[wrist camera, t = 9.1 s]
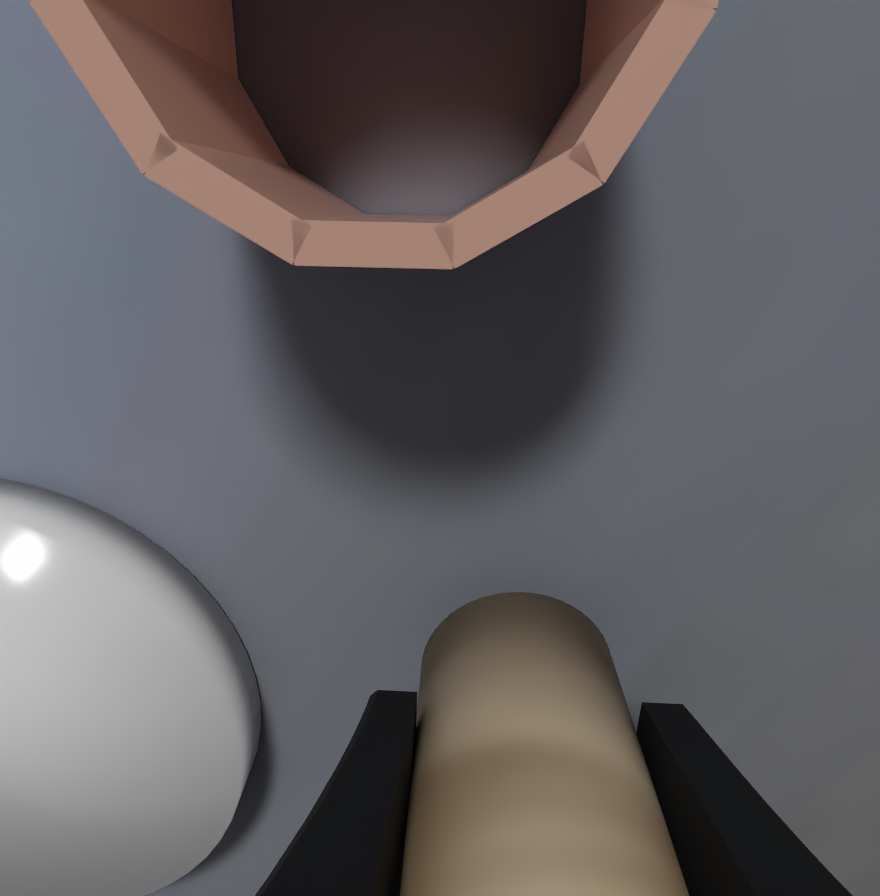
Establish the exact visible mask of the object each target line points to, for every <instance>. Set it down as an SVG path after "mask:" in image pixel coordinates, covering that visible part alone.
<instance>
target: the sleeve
mask: <svg viewBox="0 0 880 896" xmlns="http://www.w3.org/2000/svg"><path fill="white" fill-rule="evenodd" d="M29 3H30V4H31V6H32V7H33V9H34V10H35V12H36V13H37V15H38V16H39V18H40V19H41V21H42V22H43V24H44V25H45V27H46V28H47V30H48V32H49V33H50V35H51V36H52V38H53V39H54V41H55V42H56V44H57V45H58V47H59V48H60V50H61V51H62V53H63V54H64V56H65V57H66V59H67V60H68V62H69V63H70V65H71V66H72V68H73V69H74V71H75V73H76V74H77V76H78V77H79V79H80V80H81V82H82V83H83V85H84V86H85V88H86V89H87V91H88V92H89V94H90V95H91V97H92V98H93V100H94V101H95V103H96V104H97V106H98V107H99V109H100V111H101V112H102V114H103V115H104V117H105V118H106V120H107V121H108V123H109V124H110V126H111V127H112V129H113V130H114V132H115V133H116V135H117V136H118V138H119V139H120V141H121V142H122V144H123V145H124V147H125V148H126V150H127V152H128V153H129V155H130V156H131V158H132V159H133V161H134V162H135V164H136V165H137V167H138V168H139V170H140V171H141V173H142V174H145V175H144V176H145V177H147V178H149V179H150V180H152V181H154V182H155V183H157V184H159V185H160V186H162V187H164V188H165V189H167V190H169V191H170V192H172V193H173V194H175V195H177V196H178V197H180V198H182V199H183V200H185V201H187V202H188V203H190V204H192V205H193V206H195V207H197V208H198V209H200V210H202V211H203V212H205V213H207V214H208V215H210V216H212V217H213V218H215V219H217V220H218V221H220V222H222V223H223V224H225V225H227V226H228V227H230V228H232V229H233V230H235V231H237V232H238V233H240V234H242V235H243V236H245V237H246V238H248V239H250V240H251V241H253V242H255V243H256V244H258V245H260V246H261V247H263V248H265V249H266V250H268V251H270V252H271V253H273V254H275V255H276V256H278V257H280V258H281V259H283V260H285V261H286V262H288V263H290V264H291V265H294V266H332V267H376V268H419V269H453V266H454V268H457V267H459V266H461V265H462V264H464V263H466V262H468V261H469V260H471V259H473V258H475V257H477V256H478V255H480V254H482V253H484V252H485V251H487V250H489V249H491V248H492V247H494V246H496V245H498V244H500V243H501V242H503V241H505V240H507V239H508V238H510V237H512V236H514V235H515V234H517V233H519V232H521V231H522V230H524V229H526V228H528V227H530V226H531V225H533V224H535V223H537V222H538V221H540V220H542V219H544V218H545V217H547V216H549V215H551V214H553V213H554V212H556V211H558V210H560V209H561V208H563V207H565V206H567V205H568V204H570V203H572V202H574V201H575V200H577V199H579V198H581V197H583V196H584V195H586V194H588V193H590V192H591V191H593V190H595V189H597V188H598V187H600V186H602V185H603V183H605V182H606V180H607V179H608V177H609V176H610V174H611V173H612V171H613V170H614V168H615V167H616V165H617V164H618V162H619V160H620V159H621V157H622V156H623V154H624V153H625V151H626V150H627V148H628V147H629V145H630V143H631V142H632V140H633V139H634V137H635V136H636V134H637V133H638V131H639V130H640V128H641V126H642V125H643V123H644V122H645V120H646V119H647V117H648V116H649V114H650V113H651V111H652V110H653V108H654V106H655V105H656V103H657V102H658V100H659V99H660V97H661V96H662V94H663V93H664V91H665V89H666V88H667V86H668V85H669V83H670V82H671V80H672V79H673V77H674V76H675V74H676V72H677V71H678V69H679V68H680V66H681V65H682V63H683V62H684V60H685V59H686V57H687V56H688V54H689V52H690V51H691V49H692V48H693V46H694V45H695V43H696V42H697V40H698V39H699V37H700V35H701V34H702V32H703V31H704V29H705V28H706V26H707V25H708V23H709V22H710V20H711V18H712V17H713V15H714V14H715V12H716V11H715V10H716V9H717V7H718V0H587V6H586V17H585V29H584V40H583V51H582V63H581V74H580V84H579V86H578V88H577V89H576V91H575V93H574V94H573V96H572V98H571V99H570V101H569V103H568V104H567V106H566V108H565V109H564V111H563V113H562V114H561V116H560V118H559V119H558V121H557V123H556V124H555V126H554V128H553V129H552V131H551V133H550V134H549V136H548V138H547V139H546V141H545V143H544V144H543V146H542V148H541V149H540V151H539V153H538V154H537V156H536V158H535V159H534V161H533V163H532V164H531V166H530V168H529V169H528V171H526V172H525V173H523V174H521V175H519V176H518V177H516V178H514V179H513V180H511V181H509V182H508V183H506V184H504V185H502V186H501V187H499V188H497V189H496V190H494V191H492V192H490V193H489V194H487V195H485V196H484V197H482V198H480V199H479V200H477V201H475V202H473V203H472V204H470V205H468V206H467V207H465V208H463V209H461V210H460V211H458V212H456V213H455V214H453V215H451V216H430V215H382V214H364V213H363V212H361V211H359V210H358V209H356V208H355V207H353V206H352V205H350V204H348V203H347V202H345V201H344V200H342V199H340V198H339V197H337V196H336V195H334V194H333V193H331V192H329V191H328V190H326V189H325V188H323V187H321V186H320V185H318V184H317V183H315V182H314V181H312V180H310V179H309V178H307V177H306V176H304V175H302V174H301V173H299V172H298V171H296V170H295V169H293V168H291V167H290V166H289V165H288V163H287V162H286V160H285V158H284V157H283V155H282V153H281V151H280V150H279V148H278V146H277V144H276V143H275V141H274V139H273V138H272V136H271V134H270V132H269V131H268V129H267V127H266V126H265V124H264V122H263V120H262V119H261V117H260V115H259V113H258V112H257V110H256V108H255V107H254V105H253V103H252V101H251V100H250V98H249V96H248V95H247V93H246V91H245V89H244V88H243V86H242V84H241V82H240V81H239V79H238V70H237V58H236V47H235V35H234V23H233V12H232V0H31V1H29Z"/></svg>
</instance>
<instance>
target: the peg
mask: <svg viewBox="0 0 880 896" xmlns="http://www.w3.org/2000/svg"><path fill="white" fill-rule="evenodd" d="M400 896H689V893H688V890H687V887H686V884H685V881H684V878H683V875H682V872H681V869H680V866H679V862H678V859H677V856H676V853H675V850H674V847H673V844H672V841H671V838H670V835H669V832H668V829H667V826H666V823H665V820H664V816H663V813H662V810H661V807H660V804H659V801H658V798H657V795H656V792H655V789H654V786H653V783H652V780H651V777H650V774H649V771H648V767H647V764H646V761H645V758H644V755H643V752H642V749H641V746H640V743H639V740H638V737H637V734H636V731H635V728H634V725H633V722H632V718H631V715H630V712H629V709H628V706H627V703H626V700H625V697H624V694H623V691H622V688H621V685H620V682H619V679H618V676H617V672H616V669H615V666H614V663H613V660H612V657H611V654H610V651H609V648H608V645H607V643H606V641H605V639H604V637H603V635H602V634H601V632H600V631H599V629H598V628H597V627H596V625H595V624H594V623H593V622H592V621H591V620H590V619H589V618H588V617H587V616H585V615H584V614H583V613H582V612H580V611H579V610H577V609H576V608H574V607H573V606H571V605H569V604H567V603H565V602H563V601H561V600H558V599H555V598H552V597H549V596H544V595H540V594H534V593H524V592H513V593H502V594H495V595H491V596H487V597H483V598H480V599H478V600H475V601H472V602H470V603H468V604H466V605H464V606H462V607H460V608H459V609H457V610H456V611H454V612H453V613H451V614H450V615H449V616H448V617H447V618H446V619H444V620H443V621H442V622H441V623H440V625H439V626H438V627H437V628H436V629H435V631H434V632H433V634H432V635H431V637H430V638H429V640H428V643H427V645H426V647H425V650H424V654H423V658H422V666H421V677H420V688H419V698H418V709H417V719H416V737H415V748H414V759H413V770H412V780H411V789H410V796H409V805H408V815H407V826H406V836H405V847H404V858H403V868H402V879H401V890H400Z"/></svg>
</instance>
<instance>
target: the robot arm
mask: <svg viewBox="0 0 880 896" xmlns="http://www.w3.org/2000/svg"><path fill="white" fill-rule="evenodd" d="M416 718H417V692H406V691H385V690H377V691H376V692H375V693H373V694H372V695H371V696H370V698H369V701H368V703H367V706H366V708H365V711H364V713H363V715H362V718H361V720H360V722H359V724H358V726H357V729H356V731H355V733H354V735H353V737H352V739H351V741H350V743H349V745H348V747H347V748H346V750H345V752H344V754H343V756H342V758H341V760H340V762H339V764H338V765H337V767H336V769H335V771H334V772H333V774H332V776H331V778H330V779H329V781H328V783H327V785H326V786H325V788H324V790H323V791H322V793H321V795H320V797H319V798H318V800H317V802H316V804H315V805H314V807H313V809H312V810H311V812H310V814H309V815H308V817H307V818H306V820H305V822H304V823H303V825H302V826H301V828H300V829H299V831H298V832H297V834H296V836H295V837H294V839H293V840H292V842H291V843H290V845H289V846H288V848H287V849H286V851H285V852H284V854H283V855H282V857H281V858H280V860H279V861H278V863H277V865H276V866H275V868H274V869H273V871H272V872H271V874H270V875H269V877H268V878H267V879H266V881H265V882H264V884H263V885H262V887H261V888H260V889H259V891H258V892H257V894H256V895H255V896H400V890H401V879H402V868H403V858H404V847H405V836H406V826H407V815H408V805H409V796H410V789H411V780H412V770H413V759H414V748H415V737H416ZM636 734H637V737H638V740H639V743H640V746H641V749H642V752H643V755H644V758H645V761H646V764H647V767H648V771H649V774H650V777H651V780H652V783H653V786H654V789H655V792H656V795H657V798H658V801H659V804H660V807H661V810H662V813H663V816H664V820H665V823H666V826H667V829H668V832H669V835H670V838H671V841H672V844H673V847H674V850H675V853H676V856H677V859H678V862H679V866H680V869H681V872H682V875H683V878H684V881H685V884H686V887H687V890H688V893H689V896H852V895H851V894H850V893H849V892H848V891H847V890H846V889H845V888H844V886H843V885H842V884H841V883H840V882H839V881H838V880H837V879H836V878H835V877H834V876H833V875H832V874H831V873H830V872H829V871H828V870H827V869H826V868H825V867H824V866H823V864H822V863H821V862H820V861H819V860H818V859H817V858H816V857H815V856H814V855H813V854H812V853H811V852H810V851H809V849H808V848H807V847H806V846H805V845H804V844H803V843H802V842H801V841H800V839H799V838H798V837H797V836H796V835H795V834H794V833H793V832H792V831H791V829H790V828H789V827H788V826H787V825H786V824H785V823H784V822H783V821H782V819H781V818H780V817H779V816H778V815H777V814H776V813H775V812H774V811H773V810H772V808H771V807H770V806H769V805H768V804H767V803H766V802H765V800H764V799H763V798H762V797H761V796H760V795H759V794H758V792H757V791H756V790H755V789H754V788H753V787H752V786H751V784H750V783H749V782H748V781H747V780H746V778H745V777H744V776H743V775H742V774H741V773H740V771H739V770H738V769H737V768H736V767H735V766H734V764H733V763H732V762H731V761H730V760H729V759H728V757H727V756H726V755H725V754H724V753H723V751H722V750H721V749H720V748H719V747H718V745H717V744H716V743H715V742H714V741H713V739H712V738H711V737H710V736H709V735H708V733H707V732H706V731H705V730H704V729H703V728H702V726H701V725H700V724H699V723H698V722H697V720H696V719H695V718H694V717H693V716H692V715H691V713H690V712H689V711H688V710H687V709H686V708H685V707H684V705H683V704H665V703H644V702H642V705H641V711H640V716H639V722H638V727H637V733H636Z"/></svg>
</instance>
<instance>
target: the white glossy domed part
mask: <svg viewBox="0 0 880 896" xmlns="http://www.w3.org/2000/svg"><path fill="white" fill-rule="evenodd" d="M260 731H261V702H260V697H259V692H258V686H257V681H256V677H255V674H254V671H253V668H252V665H251V663H250V660H249V657H248V654H247V651H246V650H245V648H244V646H243V644H242V642H241V640H240V638H239V636H238V634H237V632H236V630H235V628H234V626H233V625H232V623H231V622H230V621H229V619H228V618H227V616H226V615H225V613H224V612H223V610H222V609H221V608H220V606H219V605H218V603H217V602H216V600H215V599H214V598H213V597H212V596H211V595H210V594H209V593H208V591H207V590H206V589H205V588H204V587H203V586H202V585H201V584H200V582H199V581H198V580H197V579H196V578H195V577H194V576H193V575H192V574H191V573H190V572H189V571H188V570H187V569H185V568H184V567H183V566H182V565H181V564H180V563H179V562H178V561H176V560H175V559H174V558H173V557H172V556H171V555H170V554H169V553H168V552H166V551H165V550H163V549H162V548H161V547H159V546H158V545H156V544H155V543H154V542H152V541H151V540H150V539H148V538H147V537H145V536H144V535H143V534H141V533H140V532H138V531H137V530H135V529H133V528H131V527H130V526H128V525H126V524H124V523H123V522H121V521H119V520H117V519H116V518H114V517H112V516H110V515H109V514H107V513H105V512H103V511H101V510H98V509H96V508H94V507H92V506H89V505H87V504H85V503H83V502H80V501H78V500H76V499H74V498H71V497H68V496H65V495H62V494H59V493H56V492H53V491H50V490H47V489H43V488H40V487H37V486H34V485H29V484H24V483H19V482H15V481H10V480H5V479H0V896H146V895H148V894H150V893H152V892H155V891H157V890H159V889H161V888H163V887H166V886H168V885H170V884H171V883H173V882H174V881H176V880H178V879H179V878H181V877H182V876H184V875H186V874H187V873H189V872H190V871H191V870H192V869H193V868H195V867H196V866H197V865H198V864H199V863H200V862H202V861H203V860H204V859H205V858H206V857H207V856H208V855H209V854H210V852H211V851H212V850H213V849H214V848H215V846H216V845H217V844H218V843H219V842H220V840H221V839H222V837H223V835H224V833H225V832H226V830H227V828H228V826H229V824H230V823H231V821H232V818H233V816H234V813H235V810H236V808H237V805H238V802H239V800H240V797H241V794H242V792H243V789H244V786H245V784H246V781H247V778H248V776H249V773H250V770H251V767H252V764H253V761H254V759H255V756H256V753H257V750H258V744H259V737H260Z"/></svg>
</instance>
